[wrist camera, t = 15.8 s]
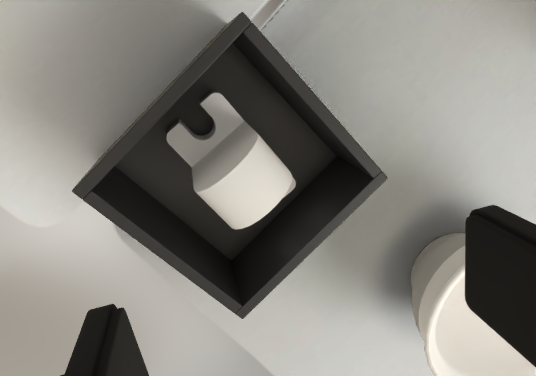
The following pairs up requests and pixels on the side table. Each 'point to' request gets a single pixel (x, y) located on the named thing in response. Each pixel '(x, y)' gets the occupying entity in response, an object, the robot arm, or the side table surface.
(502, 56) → the side table surface
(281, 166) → the cable organizer
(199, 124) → the basket
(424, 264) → the bowl
